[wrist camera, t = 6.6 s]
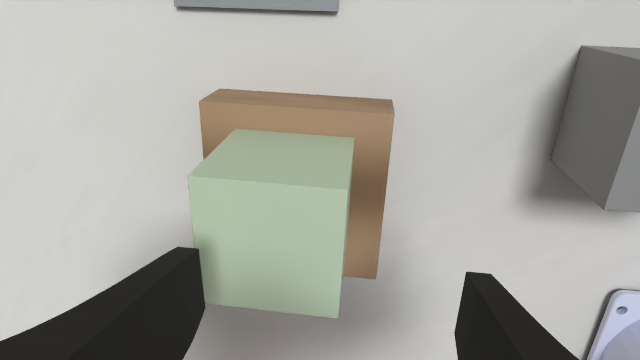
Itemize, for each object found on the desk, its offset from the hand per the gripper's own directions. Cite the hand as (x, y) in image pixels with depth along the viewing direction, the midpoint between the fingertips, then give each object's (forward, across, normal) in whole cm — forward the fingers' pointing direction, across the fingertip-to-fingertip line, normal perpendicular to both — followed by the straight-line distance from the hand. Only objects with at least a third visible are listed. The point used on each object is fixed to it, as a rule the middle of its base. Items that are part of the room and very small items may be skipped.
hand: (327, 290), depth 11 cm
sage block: (+7, +2, 0) cm, 8 cm away
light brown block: (+10, +2, +1) cm, 11 cm away
